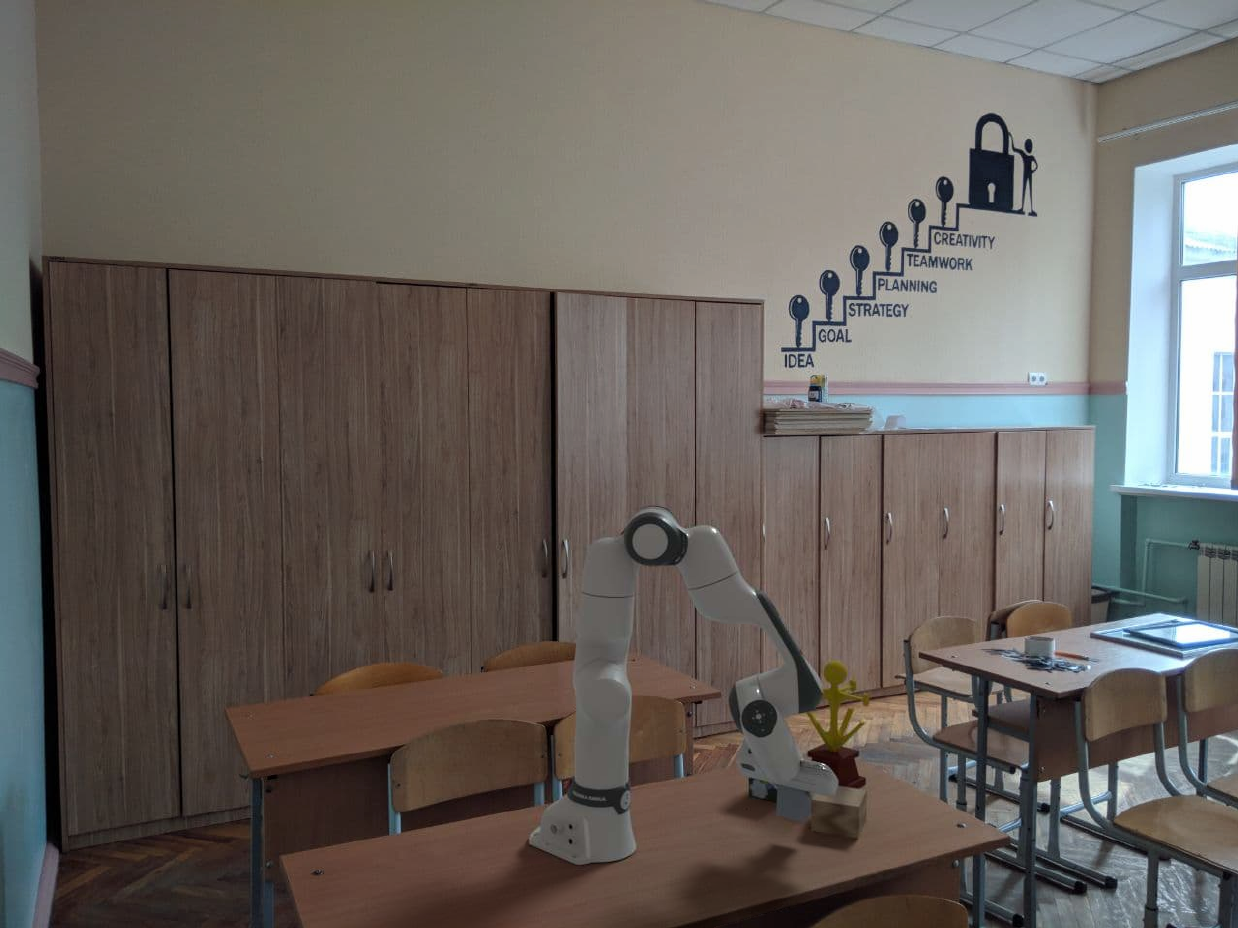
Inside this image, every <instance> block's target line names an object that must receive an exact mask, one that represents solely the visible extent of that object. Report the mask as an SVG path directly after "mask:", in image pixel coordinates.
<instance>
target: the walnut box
mask: <svg viewBox="0 0 1238 928" xmlns="http://www.w3.org/2000/svg"><path fill="white" fill-rule="evenodd" d="M867 793H868V790H867V789H864V788H863V789H862V788H858V789H856V788H850V787H843V786H838V787H837V790H836V793H835V795H834V796H832V797H829V796H825V795H821V794H817V793H815V797H814V798H812V807H811V814H810V818H811V819H810V831H811V832H815V831H816V833H822V834H827V835H828V834H829V835H834V836H839V837H846V838H851V839H857V840H859V838H860V837H861V834H862V832H863V829H864V827H865V824H866V822H867V803H868V802H867V800H868V799H867V798H868V797H867V796H868V795H867Z"/></svg>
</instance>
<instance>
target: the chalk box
mask: <svg viewBox="0 0 1238 928" xmlns="http://www.w3.org/2000/svg"><path fill="white" fill-rule="evenodd" d="M748 797H753V798H758V799H763V800H766V801H770V802H774V803H777V789H776V788H775V787H774V785H772V784H770V783H769V782H767V781H763V780H758V779H754V778H750V777H748Z"/></svg>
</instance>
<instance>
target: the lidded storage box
mask: <svg viewBox="0 0 1238 928" xmlns="http://www.w3.org/2000/svg"><path fill="white" fill-rule="evenodd" d="M805 792H806V791H804V790H800V789H796V788H792V787H788V786H783V785H779V784H778V787H777V802H776V814H775V815H776V816H777V817H781V818H785V819H789V820H792V821H797V822H800V823H802V822H803V821H804V820H806V819H807V818H808V817H809V816H811V807H812V797H808V796H807V795H806V793H805Z"/></svg>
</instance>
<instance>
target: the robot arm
mask: <svg viewBox="0 0 1238 928" xmlns="http://www.w3.org/2000/svg"><path fill="white" fill-rule="evenodd" d="M723 537H724V536H722V534H721V533H720V531H719V530H718V529H717V528H716V527H714V526H712V525H702V524H701V525H695V526H693V527H689V528H686V527H682V526H681V525H680V523H679V521H678V519H677V517H676V516H675V514H673V512H671V511H670V509H668V508H666V507H664V506H660V505H648V506H644V507H642V508H640V509H639V510H638V511H636V512H635V513H634V514H633V515H632V516H631V517H630V519H629V520H628V522H627V524H626V526H625V527H624V529H623V531H622V532H621V534H620V535H619V536H617V537H613V536H612V537H611V536H610V537H602V538H599V539H597V540H595V541H593V542H592V543H591V544H590V545H589V547H588V548H587V552H586V556H585V559H584V564H583V570H582V576H581V581H580V582H581V584H580V597H579V609H578V610H579V612H578V626H577V633H576V634H577V635H576V641H575V643H576V644H575V653H574V662H573V663H574V664H573V673H572V684H573V689H574V695H575V731H574V733H575V734H574V775H573V776H571V777H570V778H569V779H568V780H566V781H565V782H563V785H564V786H563V789H566V788H568V790H567V793H566V794H564V795H563V796H562V797H560V798H559V799H557V800H556V801H554V802H553V803H552V804H550V805H549V806H548V807H547V808H546V809H545V810H544V811H543V814H542V816H541V819H540V825H539V826H538V827H537V828H536V829H534V830H533V831H532V832H531V834H530V835H529V839H528V844H529V845H531V846H532V847H535V848H537V849H540V850H541V851H544V852H547V853H549V854H552V855H553V856H555V857H558V858H559V859H562V860H564V861H567V862H569V863H571V864H573V865H577V866H583V865H587V864H588V865H589V864H591V863H609V862H614V861H619V860H623V859H625V858H627V857H629V856H631V855H632V854H633V853H634V852H636V849H637V843H636V841H635V837H634V836H635V835H634V833H633V827H632V821H631V812H630V807H631V798H632V797H631V795H632V793H631V791H632V790H631V786H632V785H631V778H630V777H629V739H630V730H631V717H632V716H631V715H632V701H633V697H632V696H633V695H632V693H633V692H632V686H631V684H630V681H629V679H628V674H627V665H628V657H629V651H630V645H631V643H630V642H631V639H632V635H633V629H634V628H633V625H634V611H635V600H636V599H635V598H636V580H637V574H638V571H639V570H640V567H641V566H645V567H650V568H651V567H671V566H673V567H674V566H676V567H677V568H678V570H679V572H680V573H681V576H682V578H683V581H684V584H685V587H686V589H687V592H688V595H689V597H690V599H691V601H692V604H693V605H694V607H695V609H696V611H697V612H698V613H699V614H701V616H703V617H704V618H706V619H708V620H710V621H714V622H718V623H724V624H745V625H746V624H747V625H752V626H756V627H759V628H760V629H762V630H763V631H764V632H765V633H766V634H767V636H768V637H769V638H770V640H771V642H772V644H773V645H774V647H775V649H776V651H777V653H778V654H779V655H780V657H781V659H782V660H783V662H784V663H783V664H782V665H781V666H779V667H776V668H773V669H770V670H767V671H764V672H762V673H759V674H753V675H751V676H748V677H745V678H743V679H740V680H738V681H736V682H735V683H734V684H733V686H732V688H731V690H730V692H729V695H728V706H729V707H728V708H729V710H730V713H731V716H732V717H731V718H732V719H733V722H734V724H735V726H736V728H737V730H738V731H739V732H740V734H741V735H742V736H743V737H744V738H743V739H742V743H741V745H740V748H739V749H738V752H737V756H736V761H735V763H736V765H737V768H738V770H739V771H740V773H741V775H742V776H745V777H746V778H749V777H750V778H754V779H758V780H763V781H767V782H769V783H770V784H772V785H774V787H775V788H776V789H777V787H778V784H779V785H783V786H788V787H792V788H796V789H800V790H804V791H806V792H805V793H806V795H807V796H808V797H812V798H814V797H815V793H817V794H821V795H825V796H829V797H832V796H834V795H835V793H836V790H837V787H838V779H837V777H836V776H835V774H834V773H833V771H832V770H831V769H830V768H829V767H828V766H827V765H825V764H822V763H819V762H814V761H811V760H808V759H805V758H803V757H804V756H803V754H802V751H801V749H800V746H799V745H798V743H797V740H796V739H795V737H794V736H793V733H792V730H791V728H790V725H789V724H788V722H787V720H786V718H788V717H791V716H794V715H796V714H798V715H800V714H804V713H805V714H806V712H810V711H811V712H813V711H814V712H815V710H816V709H817V708H818V707H819V705H820V703H821V701H822V700H823V699H822V698H823V695H824V693H823V688H824V687H823V682H822V681H821V678H820V675H818V673H817V671H816V670H815V668H814V667H813V666H812V665H811V664H810V662H808V660H807V658H806V657H805V655H804V654H803V652H802V650H801V649H800V647H799V646H798V644H797V642H796V640H795V639H794V637H793V635H792V633H791V631H790V630H789V628H788V627H787V625H786V624H785V622H784V620H783V619H782V616H781V615H780V613H779V612H778V610H777V609H776V607H775V606H774V604H773V602H772V601H771V599H770V598H769V597H768V595H766V593H765V592H764V591H763V590H761V589H754V588H753V587H752V586H751V585H749V583H747V582H746V581H745V579H744V578H743V576H742V575H741V572H740V570H739V567H738V565H737V562H736V560H735V558H734V556H733V553H732V551H731V550H730V547H729V545H728V543H727V542H726V540H725V539H724V538H723Z"/></svg>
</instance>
